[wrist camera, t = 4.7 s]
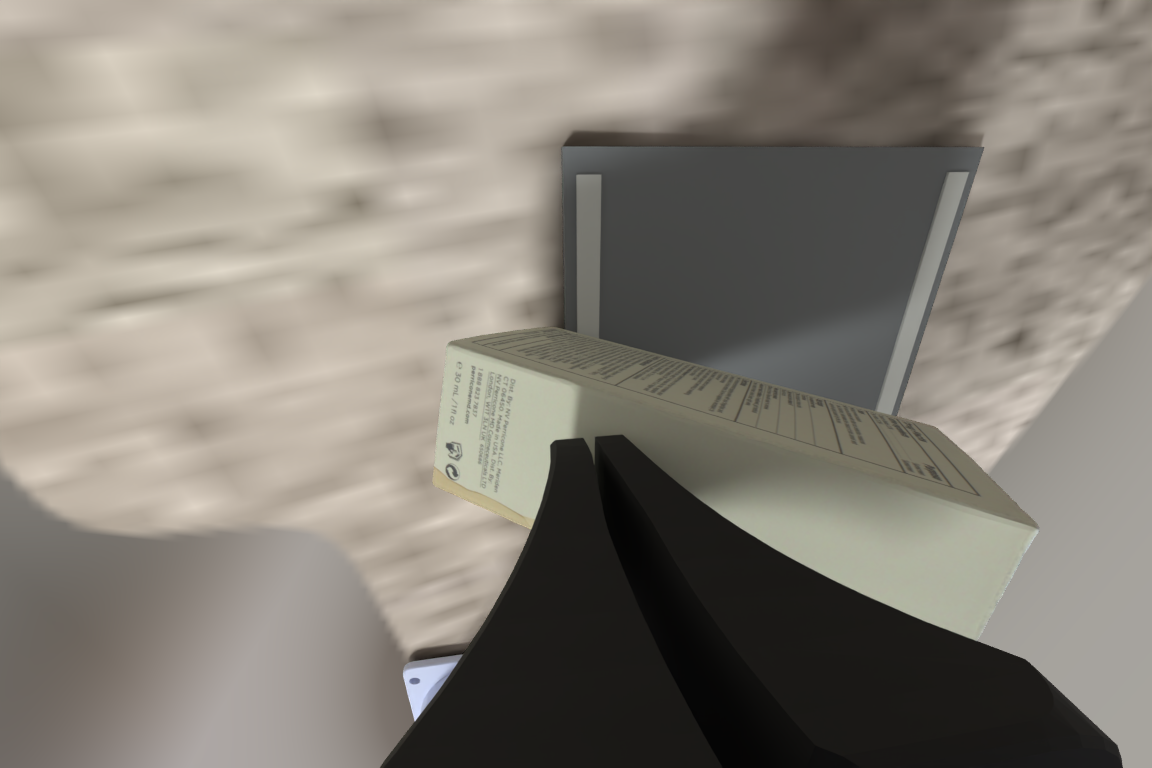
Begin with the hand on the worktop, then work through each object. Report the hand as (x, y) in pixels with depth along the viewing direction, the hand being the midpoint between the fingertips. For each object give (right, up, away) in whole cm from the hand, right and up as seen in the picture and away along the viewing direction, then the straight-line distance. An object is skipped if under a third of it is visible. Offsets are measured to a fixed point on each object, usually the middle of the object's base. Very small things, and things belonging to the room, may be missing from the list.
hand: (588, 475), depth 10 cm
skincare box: (-3, +2, +5) cm, 6 cm away
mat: (+7, +3, +9) cm, 12 cm away
